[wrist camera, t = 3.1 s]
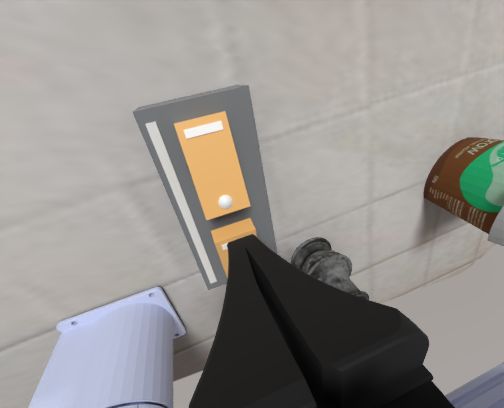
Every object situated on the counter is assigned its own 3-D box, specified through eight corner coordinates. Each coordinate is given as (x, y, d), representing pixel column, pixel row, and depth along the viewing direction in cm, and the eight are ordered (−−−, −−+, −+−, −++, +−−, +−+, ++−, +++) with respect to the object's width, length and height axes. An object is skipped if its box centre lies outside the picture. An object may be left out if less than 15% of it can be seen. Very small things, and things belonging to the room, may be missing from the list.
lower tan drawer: (226, 273, 20) (230, 286, 20) (210, 230, 16) (214, 244, 15) (257, 262, 21) (262, 273, 20) (250, 217, 17) (256, 229, 16)
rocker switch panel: (219, 305, 27) (226, 334, 24) (139, 107, 16) (131, 113, 12) (275, 283, 28) (288, 308, 25) (236, 85, 17) (251, 85, 14)
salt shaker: (339, 253, 29) (430, 345, 19) (303, 281, 29) (373, 387, 19) (320, 226, 26) (417, 319, 16) (279, 258, 26) (348, 370, 16)
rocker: (205, 215, 16) (206, 220, 14) (175, 125, 14) (173, 123, 13) (246, 201, 16) (250, 206, 15) (222, 113, 14) (225, 110, 13)
